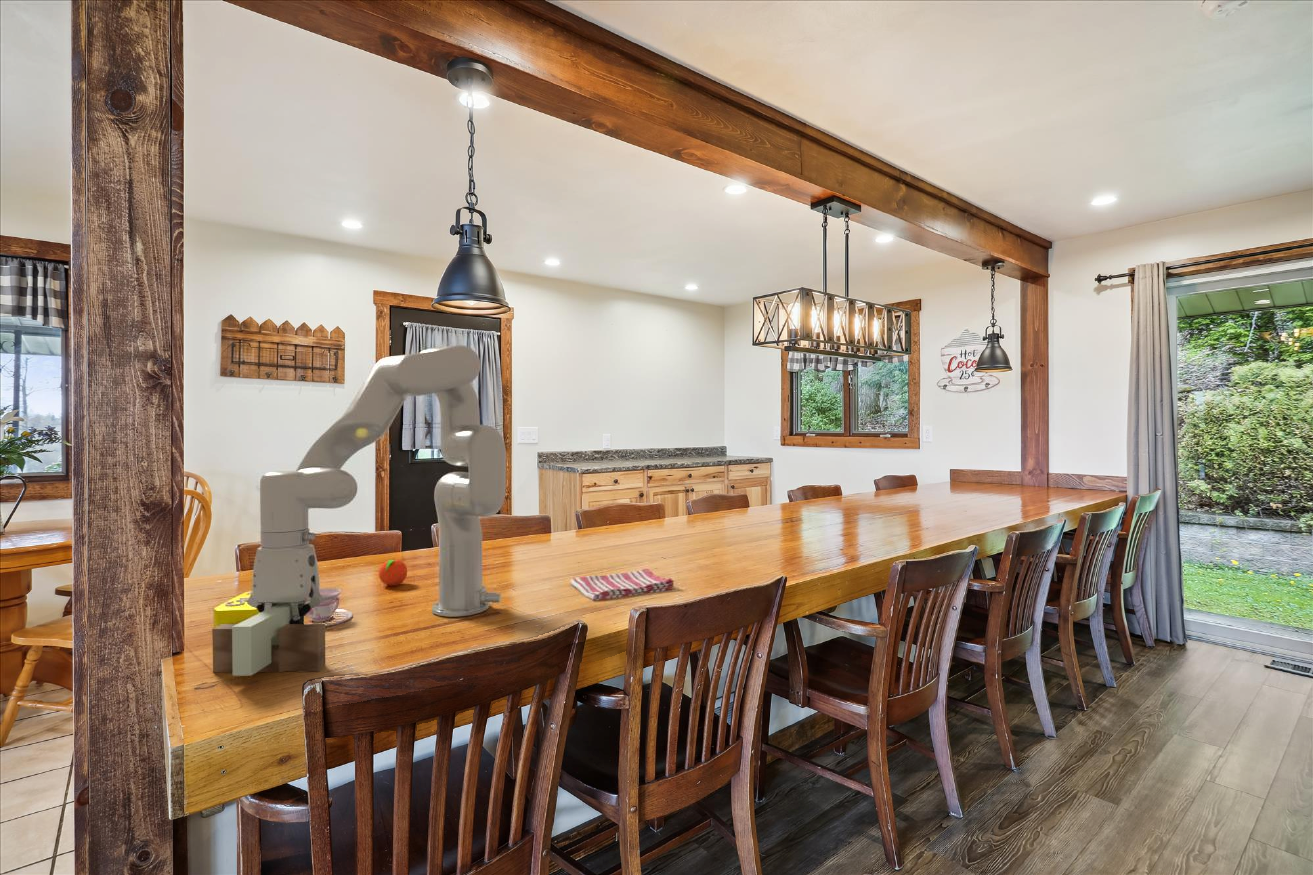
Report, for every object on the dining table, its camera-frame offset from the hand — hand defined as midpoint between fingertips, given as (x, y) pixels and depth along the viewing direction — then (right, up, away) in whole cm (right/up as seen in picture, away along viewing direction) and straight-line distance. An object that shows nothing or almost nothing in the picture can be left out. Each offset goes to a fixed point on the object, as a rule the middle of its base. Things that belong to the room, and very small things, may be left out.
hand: (285, 638), depth 115 cm
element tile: (-19, -4, +25) cm, 32 cm away
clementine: (-2, -3, +51) cm, 51 cm away
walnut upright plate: (0, -4, -5) cm, 6 cm away
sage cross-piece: (0, -2, -5) cm, 5 cm away
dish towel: (+58, -3, +50) cm, 77 cm away
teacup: (-5, -3, +23) cm, 24 cm away
